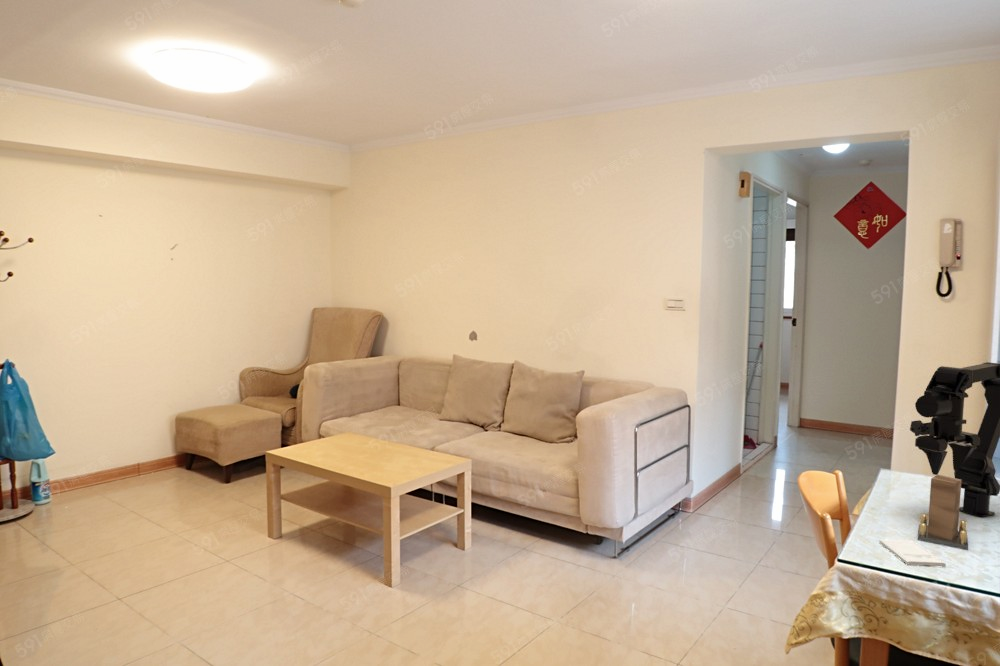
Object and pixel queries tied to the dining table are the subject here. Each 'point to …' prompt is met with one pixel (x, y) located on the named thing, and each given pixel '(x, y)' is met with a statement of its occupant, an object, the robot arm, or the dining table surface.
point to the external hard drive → (911, 552)
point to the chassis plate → (956, 542)
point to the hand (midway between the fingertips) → (945, 472)
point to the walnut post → (944, 506)
